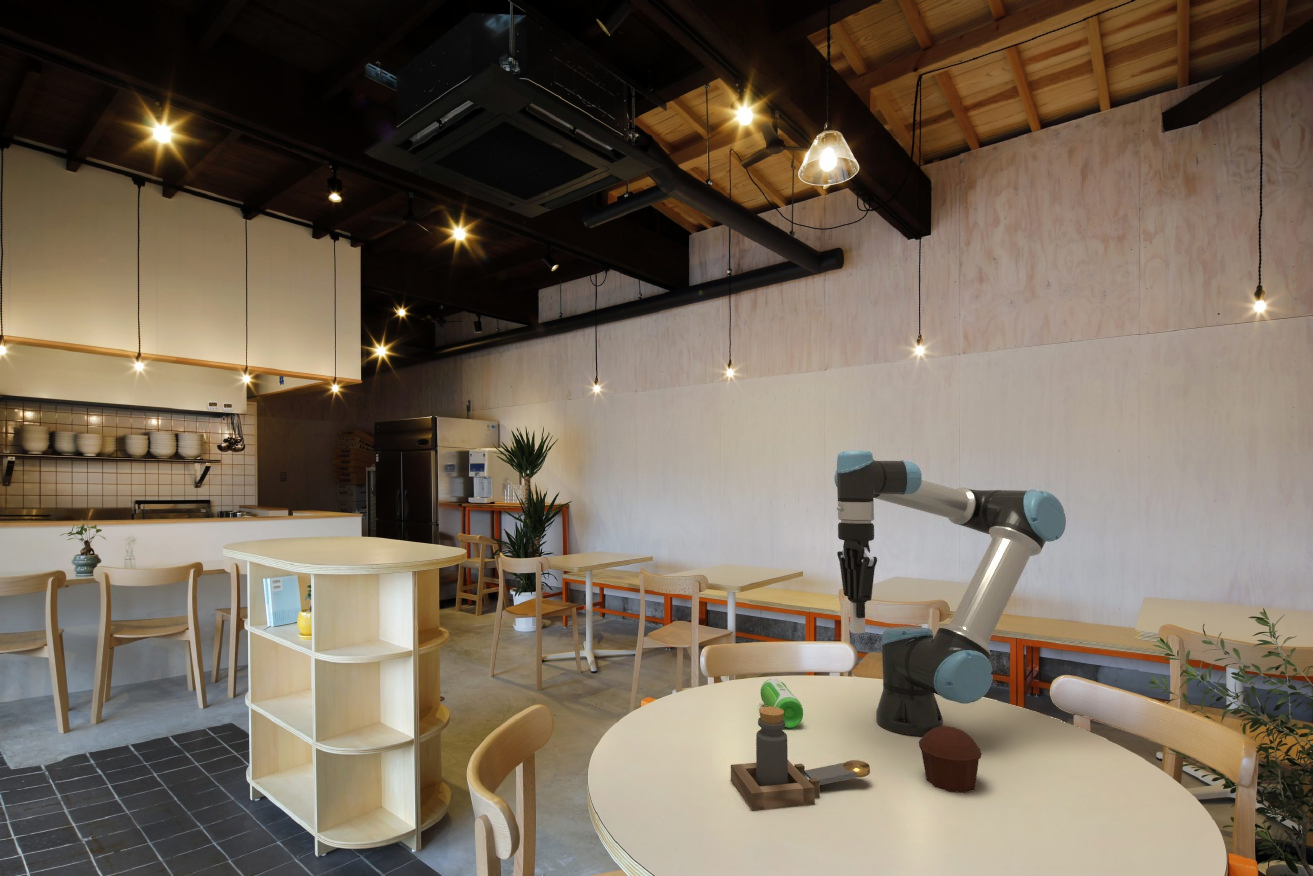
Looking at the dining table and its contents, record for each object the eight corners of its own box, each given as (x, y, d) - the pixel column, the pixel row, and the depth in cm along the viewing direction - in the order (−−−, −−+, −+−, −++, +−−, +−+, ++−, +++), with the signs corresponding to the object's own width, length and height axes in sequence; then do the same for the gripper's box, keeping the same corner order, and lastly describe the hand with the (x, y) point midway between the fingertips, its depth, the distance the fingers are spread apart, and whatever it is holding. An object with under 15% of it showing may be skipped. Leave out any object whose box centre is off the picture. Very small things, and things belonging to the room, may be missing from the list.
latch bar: (861, 763, 128) (861, 758, 128) (875, 774, 123) (874, 769, 123) (798, 776, 125) (798, 771, 125) (810, 788, 120) (809, 782, 120)
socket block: (797, 774, 129) (797, 759, 129) (825, 803, 117) (824, 786, 117) (730, 780, 126) (730, 764, 126) (752, 811, 114) (752, 793, 114)
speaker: (805, 730, 152) (805, 698, 153) (775, 731, 152) (775, 698, 153) (786, 705, 170) (785, 676, 171) (758, 706, 169) (758, 676, 170)
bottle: (788, 801, 118) (787, 717, 119) (755, 798, 119) (755, 714, 120) (787, 786, 124) (787, 706, 125) (757, 783, 125) (756, 704, 126)
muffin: (934, 764, 134) (932, 715, 134) (991, 782, 126) (989, 729, 127) (909, 783, 125) (908, 730, 126) (969, 803, 118) (967, 746, 118)
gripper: (825, 520, 145) (827, 626, 143) (855, 523, 133) (857, 640, 131) (856, 520, 147) (858, 625, 145) (888, 523, 134) (890, 638, 132)
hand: (857, 632), depth 138 cm, fingers closed
